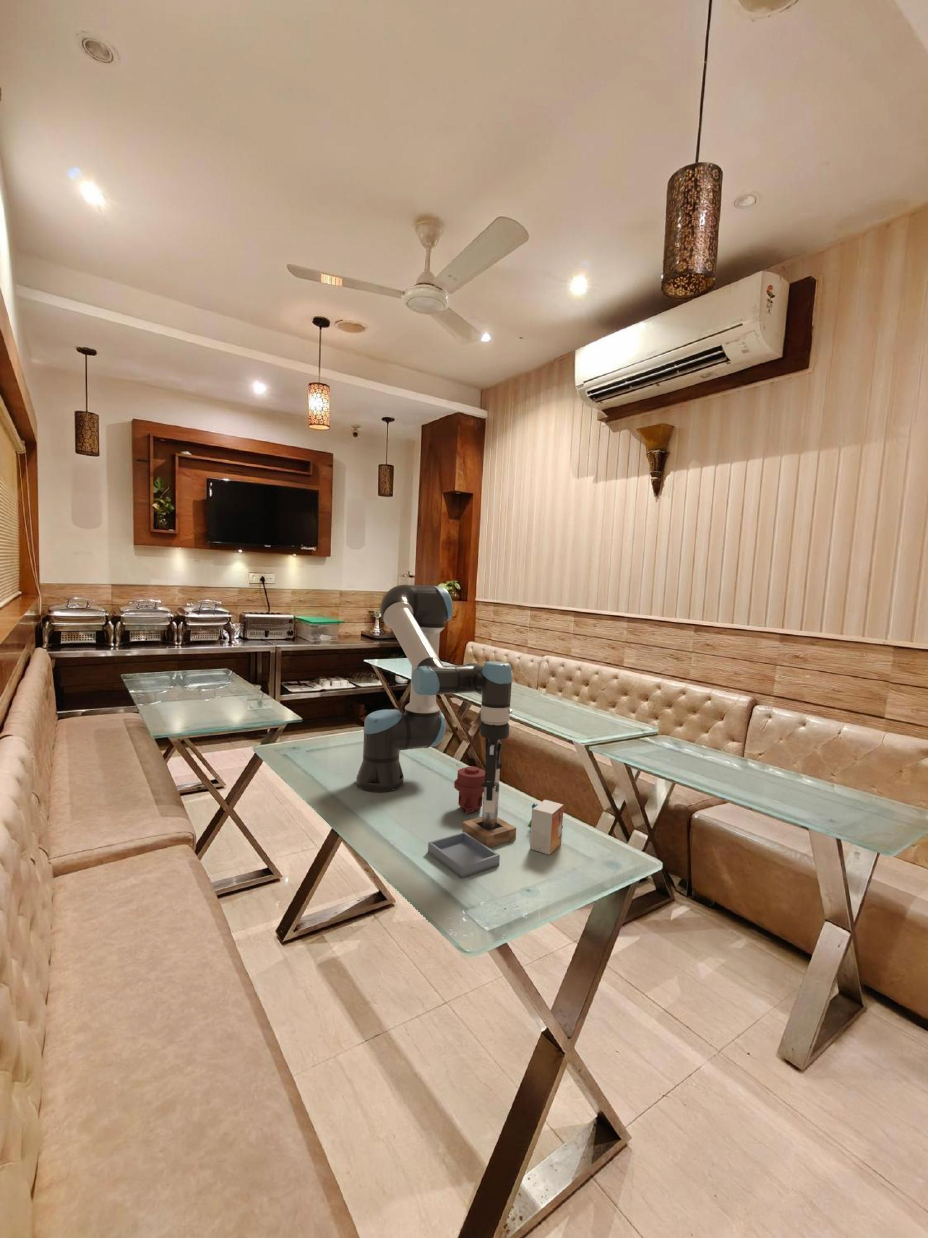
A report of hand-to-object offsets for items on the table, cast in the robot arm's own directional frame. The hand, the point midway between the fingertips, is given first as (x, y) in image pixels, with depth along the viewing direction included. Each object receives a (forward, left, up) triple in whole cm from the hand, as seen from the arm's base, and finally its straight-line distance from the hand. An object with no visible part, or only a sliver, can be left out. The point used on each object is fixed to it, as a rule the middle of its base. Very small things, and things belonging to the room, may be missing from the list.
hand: (491, 801), depth 143 cm
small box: (+12, +9, -10) cm, 18 cm away
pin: (0, 0, -9) cm, 9 cm away
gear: (+5, +16, -10) cm, 19 cm away
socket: (0, 0, -9) cm, 9 cm away
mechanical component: (-16, +6, -10) cm, 20 cm away
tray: (+6, -13, -9) cm, 17 cm away
